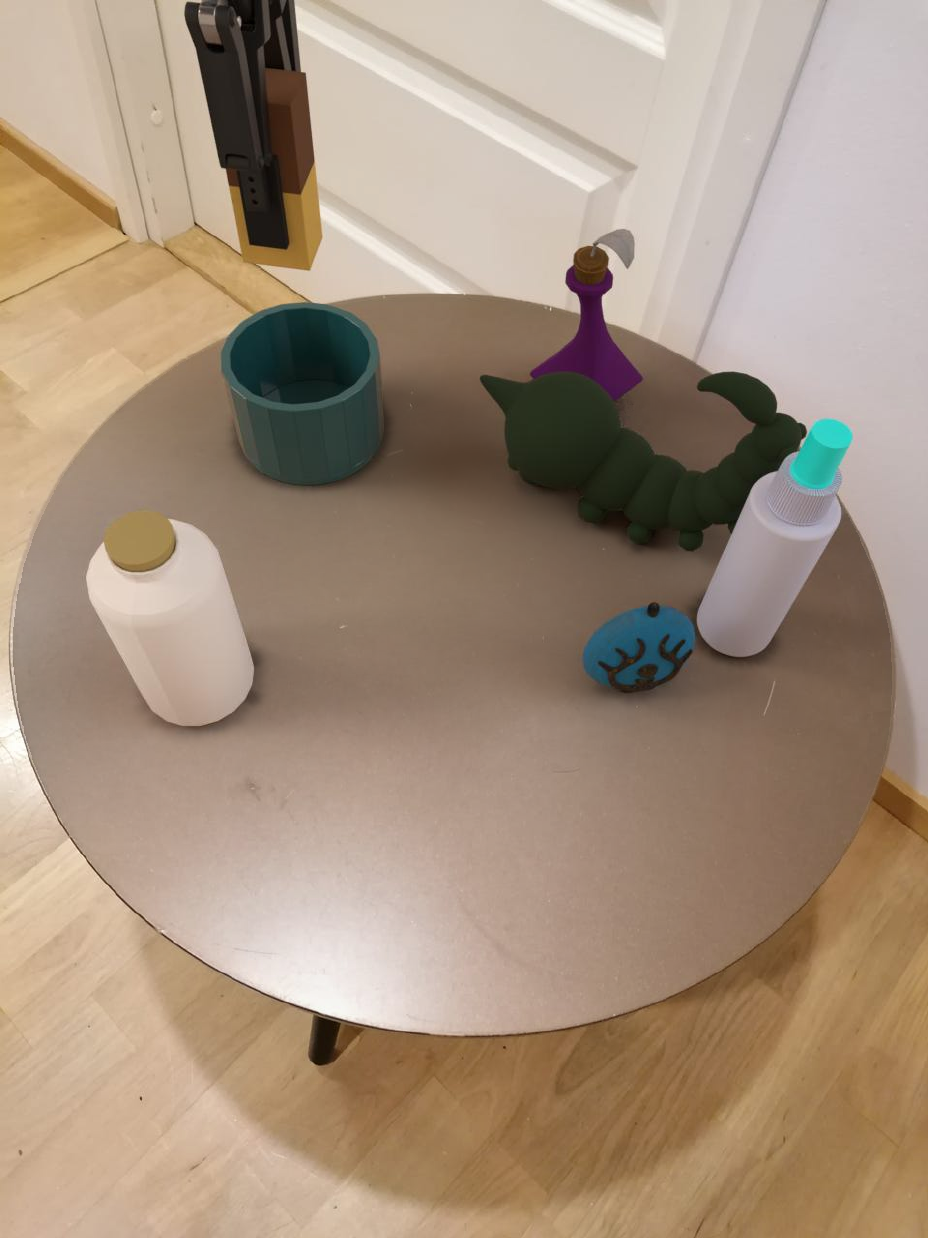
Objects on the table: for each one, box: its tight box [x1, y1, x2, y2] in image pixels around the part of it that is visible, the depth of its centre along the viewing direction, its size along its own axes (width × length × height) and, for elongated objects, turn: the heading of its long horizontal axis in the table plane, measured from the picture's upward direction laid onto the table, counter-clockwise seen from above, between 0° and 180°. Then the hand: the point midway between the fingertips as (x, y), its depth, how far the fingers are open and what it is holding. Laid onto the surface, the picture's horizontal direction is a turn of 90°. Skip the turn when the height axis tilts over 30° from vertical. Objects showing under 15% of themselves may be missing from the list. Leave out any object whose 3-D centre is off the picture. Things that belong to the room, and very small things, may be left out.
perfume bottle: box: [529, 228, 644, 403], centre depth 80 cm, size 8×8×18 cm
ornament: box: [582, 601, 696, 694], centre depth 68 cm, size 8×5×10 cm, turn 100°
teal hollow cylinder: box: [220, 301, 385, 486], centre depth 81 cm, size 13×13×9 cm
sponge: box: [225, 68, 323, 272], centre depth 64 cm, size 4×5×12 cm
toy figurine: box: [479, 371, 808, 553], centre depth 74 cm, size 9×19×25 cm
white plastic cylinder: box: [85, 510, 255, 727], centre depth 63 cm, size 8×8×18 cm
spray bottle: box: [696, 418, 854, 658], centre depth 66 cm, size 6×6×22 cm
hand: (277, 223), depth 67 cm, fingers closed on sponge, 4 cm apart
